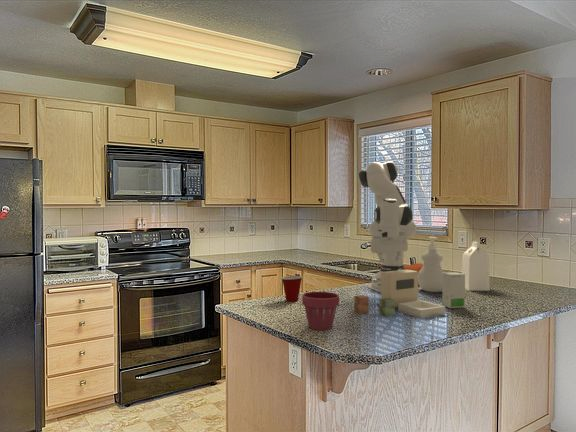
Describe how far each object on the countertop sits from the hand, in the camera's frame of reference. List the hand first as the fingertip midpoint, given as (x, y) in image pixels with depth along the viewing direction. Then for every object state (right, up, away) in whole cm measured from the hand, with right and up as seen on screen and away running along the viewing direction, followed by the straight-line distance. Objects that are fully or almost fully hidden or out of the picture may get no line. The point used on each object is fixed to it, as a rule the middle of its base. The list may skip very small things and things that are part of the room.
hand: (389, 261), depth 221 cm
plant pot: (-36, -22, -40) cm, 58 cm away
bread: (+27, -18, +56) cm, 65 cm away
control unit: (+3, -20, -5) cm, 21 cm away
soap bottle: (+29, -19, +30) cm, 46 cm away
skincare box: (+28, -21, -6) cm, 36 cm away
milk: (+56, -19, +38) cm, 70 cm away
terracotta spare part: (-16, -21, -16) cm, 31 cm away
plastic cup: (-47, -20, +7) cm, 51 cm away
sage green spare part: (-6, -21, -22) cm, 31 cm away
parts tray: (+10, -21, -18) cm, 29 cm away
